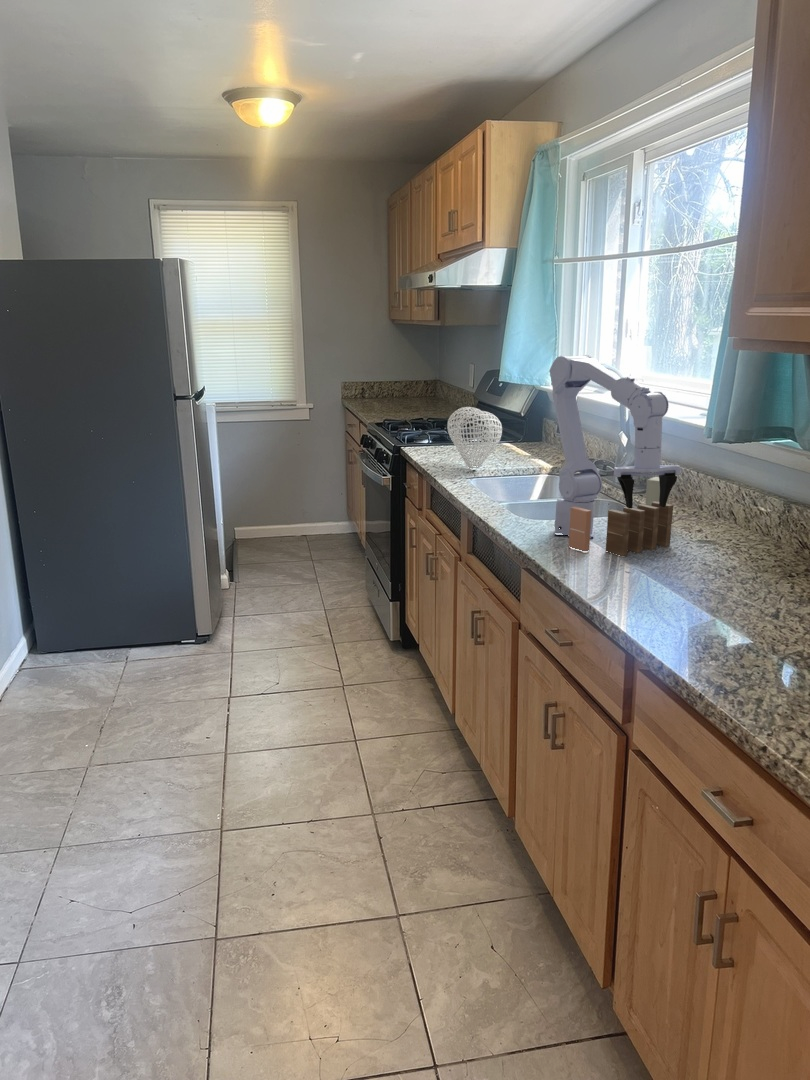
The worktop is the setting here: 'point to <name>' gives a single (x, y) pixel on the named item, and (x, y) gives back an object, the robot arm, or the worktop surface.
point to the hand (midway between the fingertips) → (645, 507)
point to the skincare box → (653, 491)
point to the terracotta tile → (579, 528)
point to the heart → (458, 438)
